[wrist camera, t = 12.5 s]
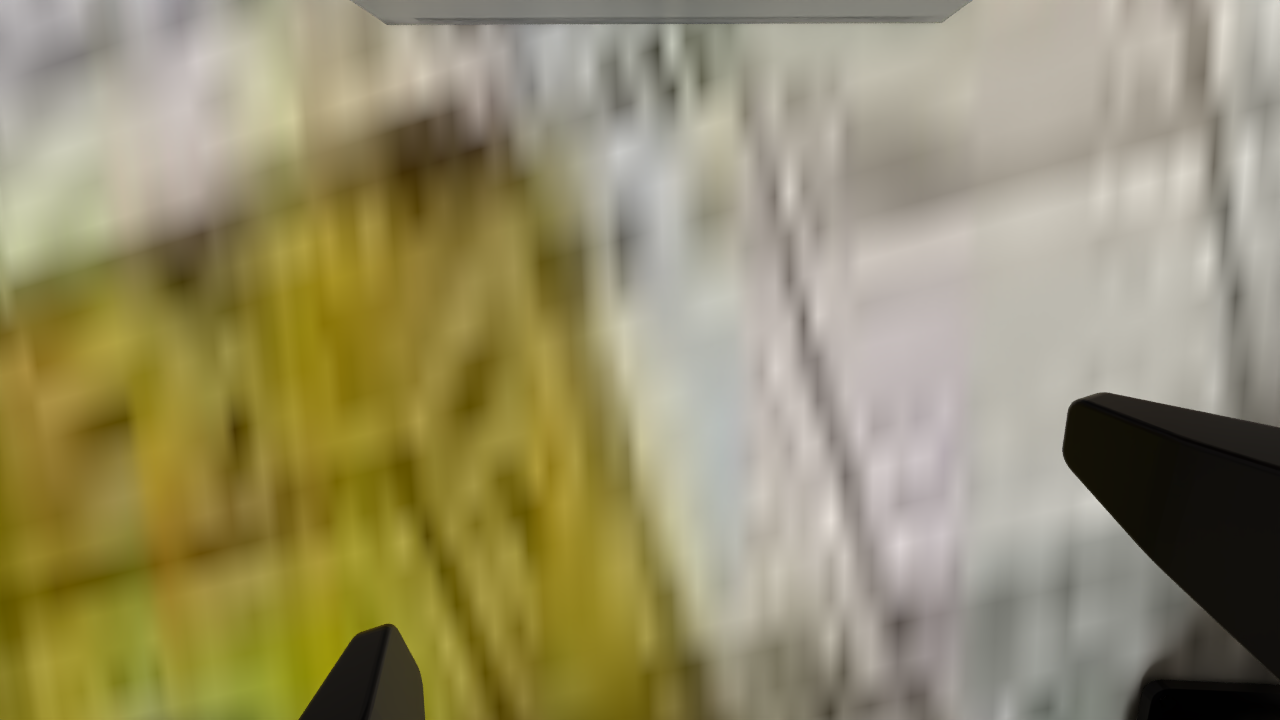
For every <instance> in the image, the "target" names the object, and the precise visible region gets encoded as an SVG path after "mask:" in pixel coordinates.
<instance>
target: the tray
mask: <svg viewBox="0 0 1280 720" xmlns="http://www.w3.org/2000/svg"><path fill="white" fill-rule="evenodd" d="M351 1H352V2H354V3H355V4H357V5H358V6H360V7H361V8H363V9H364V10H366V11H367V12H369V13H370V14H372V15H373V16H375V17H376V18H378V19H379V20H381V21H382V22H384V23H385V24H387V25H456V24H750V23H942V22H944V21H945V20H946V19H948V18H949V17H950V16H952V15H953V14H954V13H956V12H957V11H959V10H960V9H961V8H963V7H964V6H965V5H967V4H968V3H969V2H971V1H972V0H351Z"/></svg>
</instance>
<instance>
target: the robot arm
mask: <svg viewBox="0 0 1280 720" xmlns="http://www.w3.org/2000/svg"><path fill="white" fill-rule="evenodd" d="M1062 452H1063V457H1064V459H1065V462H1066V464H1067V465H1068V467H1069V468H1070V469H1071V471H1072V472H1073V473H1074V474H1075V475H1076V476H1077V477H1078V478H1079V480H1080V481H1081V482H1082V483H1083V484H1084V485H1085V486H1086V487H1087V489H1088V490H1089V491H1090V492H1091V493H1092V494H1093V495H1094V496H1095V498H1096V499H1097V500H1098V501H1099V502H1100V503H1101V504H1102V505H1103V507H1104V508H1105V509H1106V510H1107V511H1108V512H1109V513H1110V514H1111V515H1112V517H1113V518H1114V519H1115V520H1116V521H1117V522H1118V523H1119V524H1120V526H1121V527H1122V528H1123V529H1124V530H1125V531H1126V532H1127V533H1128V535H1129V536H1130V537H1131V538H1132V539H1133V540H1134V541H1135V542H1136V544H1137V545H1138V546H1139V547H1140V548H1141V549H1142V550H1143V551H1144V552H1145V553H1146V554H1147V555H1148V556H1149V558H1150V559H1151V560H1152V561H1153V562H1154V563H1155V564H1156V565H1157V566H1159V567H1160V568H1161V569H1162V570H1163V571H1164V572H1165V573H1166V574H1167V575H1168V576H1169V577H1170V578H1171V579H1172V580H1173V581H1174V582H1175V583H1176V584H1177V585H1178V586H1179V587H1180V588H1182V589H1183V590H1184V591H1185V592H1186V593H1187V594H1188V595H1189V596H1190V597H1191V598H1192V599H1193V600H1194V601H1195V602H1196V603H1197V604H1199V605H1200V606H1201V607H1202V608H1203V609H1204V610H1205V611H1206V612H1207V613H1208V614H1209V615H1210V616H1211V617H1212V618H1213V619H1214V620H1215V621H1217V622H1218V623H1219V624H1220V625H1221V626H1222V627H1223V628H1224V629H1225V630H1226V631H1227V632H1228V633H1229V634H1230V635H1231V636H1232V637H1234V638H1235V639H1236V640H1237V641H1238V642H1239V643H1240V644H1241V645H1242V646H1243V647H1244V648H1245V649H1246V650H1247V651H1248V652H1249V653H1251V654H1252V655H1253V656H1254V657H1255V658H1256V659H1257V660H1258V661H1259V662H1260V663H1261V664H1262V665H1263V666H1264V667H1265V668H1266V669H1268V670H1269V671H1270V672H1271V673H1272V674H1273V675H1274V676H1275V677H1276V678H1277V679H1278V680H1279V681H1280V428H1279V427H1274V426H1269V425H1264V424H1260V423H1255V422H1250V421H1245V420H1240V419H1235V418H1230V417H1225V416H1220V415H1215V414H1210V413H1205V412H1201V411H1196V410H1191V409H1186V408H1181V407H1176V406H1171V405H1166V404H1161V403H1156V402H1151V401H1147V400H1142V399H1137V398H1132V397H1127V396H1122V395H1117V394H1112V393H1106V392H1102V393H1096V394H1093V395H1090V396H1087V397H1084V398H1080V399H1078V400H1075V401H1074V402H1072V404H1071V405H1070V407H1069V409H1068V413H1067V420H1066V427H1065V434H1064V440H1063V447H1062ZM1164 696H1166V697H1165V698H1163V699H1162V700H1160V699H1161V698H1162V697H1164ZM299 720H425V710H424V695H423V684H422V678H421V674H420V671H419V668H418V666H417V664H416V662H415V660H414V658H413V656H412V655H411V653H410V651H409V649H408V647H407V645H406V643H405V642H404V640H403V638H402V636H401V634H400V632H399V631H398V629H397V628H396V627H395V626H394V625H392V624H384V625H381V626H378V627H375V628H372V629H369V630H366V631H363V632H360V633H358V634H357V635H356V636H355V637H354V638H353V639H352V640H351V642H350V643H349V645H348V646H347V648H346V649H345V651H344V652H343V654H342V655H341V657H340V658H339V660H338V661H337V663H336V664H335V666H334V667H333V669H332V670H331V672H330V673H329V675H328V676H327V678H326V679H325V681H324V682H323V684H322V685H321V687H320V688H319V690H318V691H317V693H316V694H315V696H314V697H313V699H312V700H311V702H310V703H309V705H308V706H307V708H306V709H305V711H304V712H303V714H302V715H301V717H300V718H299ZM1137 720H1280V685H1269V684H1246V683H1224V682H1201V681H1179V680H1155V681H1153V682H1151V683H1149V684H1148V685H1147V686H1146V687H1145V688H1144V690H1143V692H1142V696H1141V701H1140V707H1139V712H1138V717H1137Z"/></svg>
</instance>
